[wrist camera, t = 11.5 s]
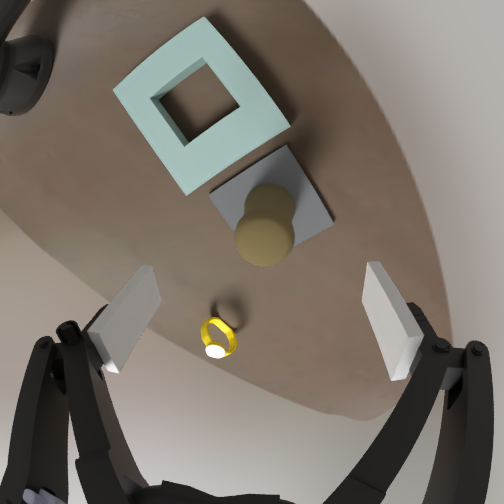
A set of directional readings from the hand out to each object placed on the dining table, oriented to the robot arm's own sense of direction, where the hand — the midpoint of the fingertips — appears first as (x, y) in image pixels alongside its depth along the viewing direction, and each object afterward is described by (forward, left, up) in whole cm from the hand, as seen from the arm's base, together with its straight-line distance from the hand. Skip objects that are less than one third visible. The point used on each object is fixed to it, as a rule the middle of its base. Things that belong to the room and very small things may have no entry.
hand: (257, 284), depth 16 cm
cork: (0, 0, -18) cm, 18 cm away
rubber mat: (0, 0, -18) cm, 18 cm away
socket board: (-15, 0, -18) cm, 24 cm away
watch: (+12, -16, -18) cm, 27 cm away
